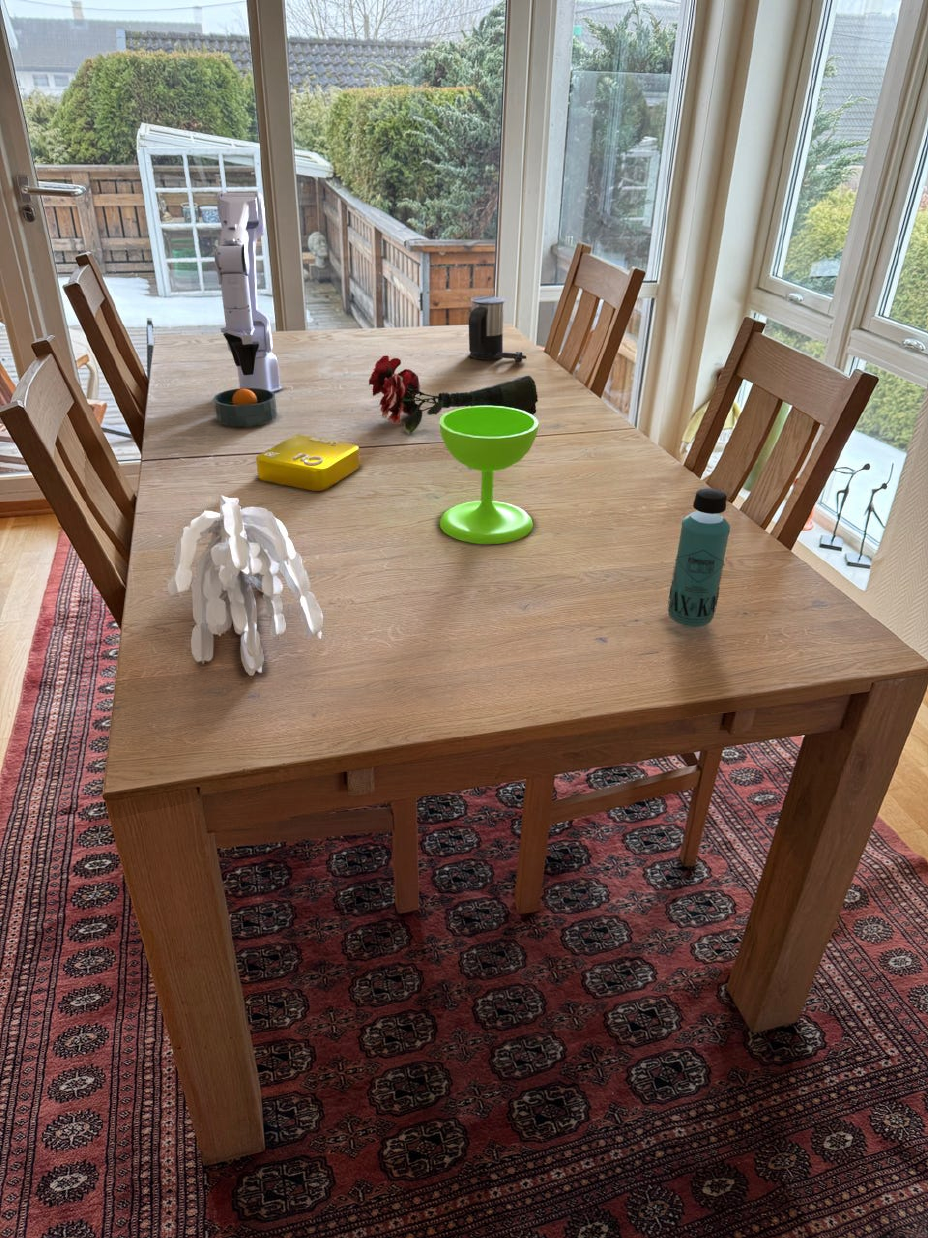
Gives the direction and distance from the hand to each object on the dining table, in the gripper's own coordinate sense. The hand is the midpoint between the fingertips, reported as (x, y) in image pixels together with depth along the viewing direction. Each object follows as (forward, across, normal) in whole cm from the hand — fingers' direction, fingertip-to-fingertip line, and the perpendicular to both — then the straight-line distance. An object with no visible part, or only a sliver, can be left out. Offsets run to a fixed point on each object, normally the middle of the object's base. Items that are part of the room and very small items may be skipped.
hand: (244, 369), depth 201 cm
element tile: (+10, +41, +3) cm, 42 cm away
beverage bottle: (+10, +116, +36) cm, 121 cm away
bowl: (+9, +5, -2) cm, 11 cm away
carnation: (+10, +23, +40) cm, 47 cm away
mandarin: (+6, +3, -1) cm, 7 cm away
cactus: (+10, +89, -20) cm, 92 cm away
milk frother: (+10, -19, +71) cm, 74 cm away
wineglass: (+10, +74, +24) cm, 79 cm away
